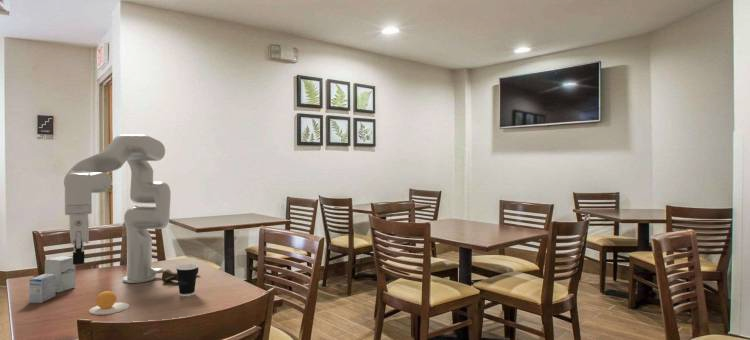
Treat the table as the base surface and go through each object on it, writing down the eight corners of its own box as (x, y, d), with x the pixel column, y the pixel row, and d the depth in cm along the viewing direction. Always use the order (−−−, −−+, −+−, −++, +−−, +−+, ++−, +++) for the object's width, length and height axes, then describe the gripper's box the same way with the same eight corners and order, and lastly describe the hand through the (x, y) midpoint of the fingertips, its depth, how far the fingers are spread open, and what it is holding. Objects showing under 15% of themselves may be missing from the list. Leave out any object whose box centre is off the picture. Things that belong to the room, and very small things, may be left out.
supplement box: (59, 292, 173) (59, 260, 172) (44, 291, 174) (43, 259, 174) (76, 287, 180) (76, 256, 180) (60, 286, 181) (60, 255, 181)
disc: (127, 301, 164) (127, 300, 164) (130, 310, 154) (130, 310, 154) (88, 306, 157) (88, 306, 157) (89, 317, 147) (89, 316, 147)
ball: (90, 299, 155) (100, 313, 156) (94, 296, 151) (105, 310, 152) (107, 289, 160) (116, 303, 160) (111, 285, 156) (121, 299, 156)
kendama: (203, 276, 201) (175, 287, 182) (184, 275, 203) (155, 286, 184) (203, 263, 201) (175, 273, 182) (184, 262, 203) (154, 272, 184)
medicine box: (43, 296, 168) (43, 273, 168) (55, 296, 168) (55, 273, 168) (29, 303, 160) (28, 279, 160) (42, 303, 161) (42, 279, 160)
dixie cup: (197, 290, 178) (197, 263, 178) (198, 296, 171) (198, 267, 170) (175, 293, 174) (175, 265, 174) (176, 299, 167) (176, 269, 167)
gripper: (92, 211, 146) (92, 267, 146) (91, 206, 158) (91, 258, 159) (64, 212, 141) (64, 270, 142) (65, 207, 154) (65, 260, 154)
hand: (78, 263), depth 150 cm, fingers closed
